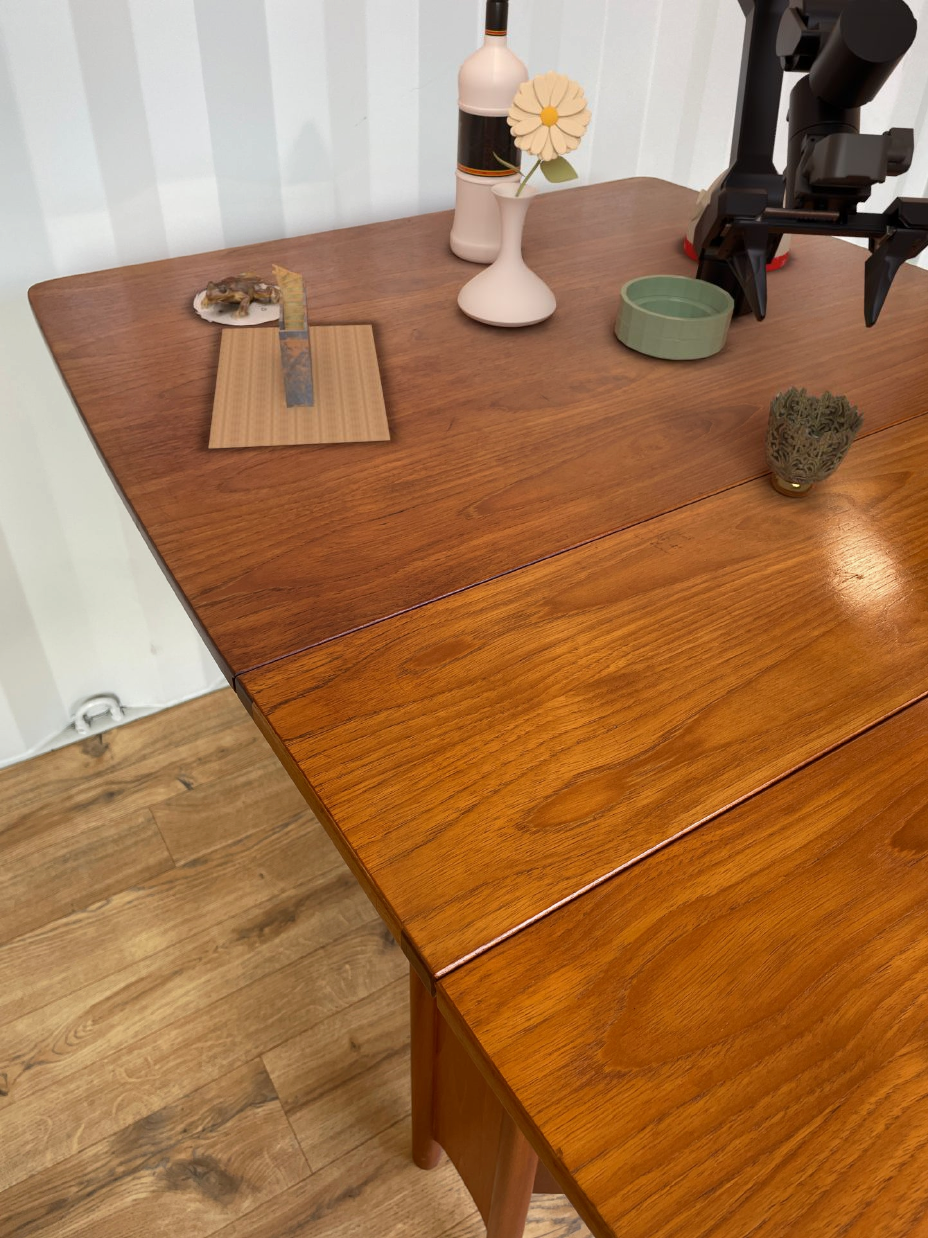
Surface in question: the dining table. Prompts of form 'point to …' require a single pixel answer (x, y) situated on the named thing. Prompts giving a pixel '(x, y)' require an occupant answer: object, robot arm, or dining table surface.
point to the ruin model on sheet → (297, 380)
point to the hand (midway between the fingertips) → (816, 322)
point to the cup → (808, 438)
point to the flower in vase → (528, 201)
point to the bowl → (673, 317)
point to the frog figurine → (239, 300)
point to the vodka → (485, 139)
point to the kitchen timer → (699, 209)
